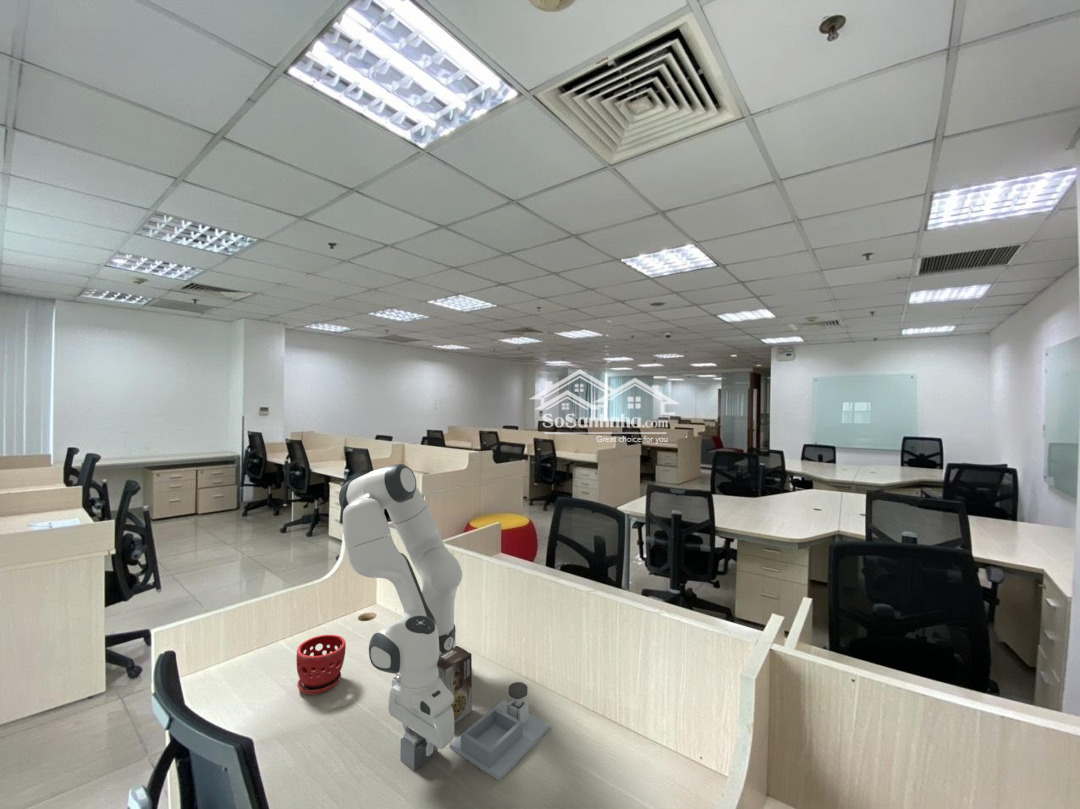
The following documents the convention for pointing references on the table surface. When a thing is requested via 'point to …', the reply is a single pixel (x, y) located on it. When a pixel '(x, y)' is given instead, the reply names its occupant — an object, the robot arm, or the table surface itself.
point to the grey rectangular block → (414, 750)
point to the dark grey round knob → (518, 693)
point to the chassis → (500, 738)
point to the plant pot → (320, 664)
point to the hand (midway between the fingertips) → (419, 747)
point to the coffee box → (457, 679)
